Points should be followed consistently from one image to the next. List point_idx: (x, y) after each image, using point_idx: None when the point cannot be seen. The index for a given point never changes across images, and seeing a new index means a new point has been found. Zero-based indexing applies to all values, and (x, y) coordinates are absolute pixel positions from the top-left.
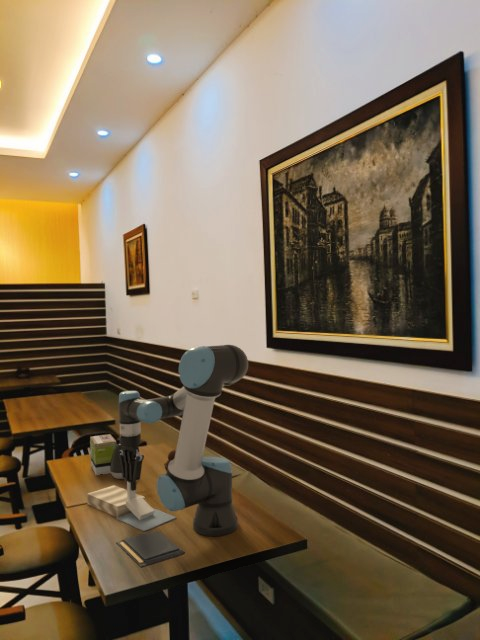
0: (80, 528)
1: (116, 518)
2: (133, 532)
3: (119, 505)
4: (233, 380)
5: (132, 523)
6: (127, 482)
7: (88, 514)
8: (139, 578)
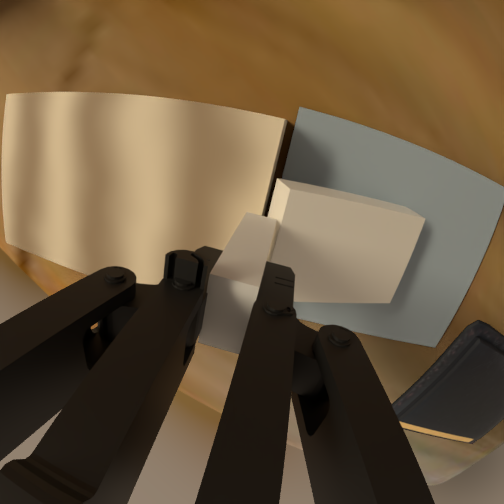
0: (194, 393)
1: None
2: (397, 362)
3: None
4: None
5: (360, 323)
6: (210, 339)
7: None
8: (475, 456)
